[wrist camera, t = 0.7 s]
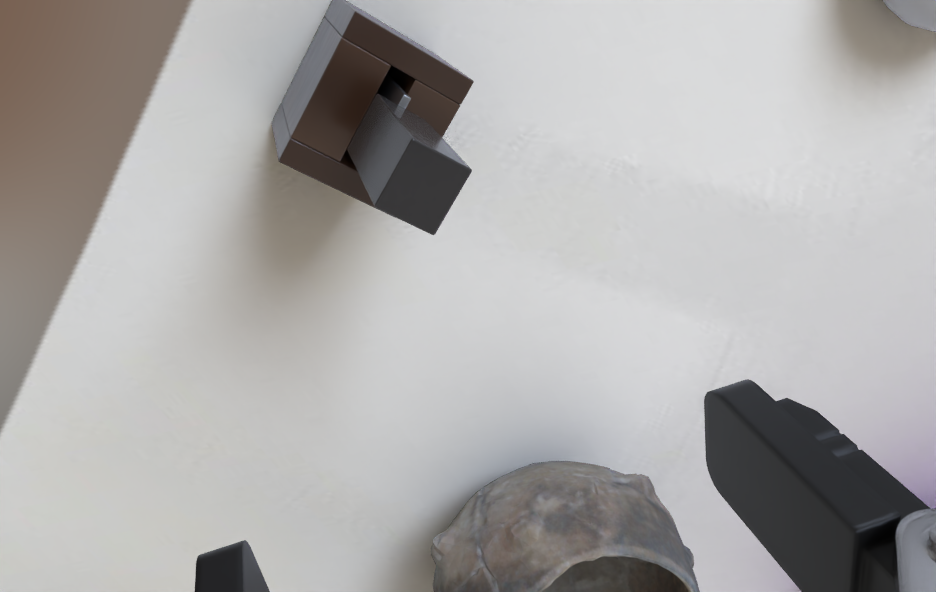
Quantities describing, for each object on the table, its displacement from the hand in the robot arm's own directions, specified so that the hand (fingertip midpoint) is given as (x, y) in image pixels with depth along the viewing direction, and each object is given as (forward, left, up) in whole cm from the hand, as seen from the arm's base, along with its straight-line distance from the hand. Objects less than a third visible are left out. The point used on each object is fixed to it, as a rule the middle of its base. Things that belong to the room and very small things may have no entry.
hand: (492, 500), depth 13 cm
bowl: (+27, -1, -25) cm, 37 cm away
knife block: (-1, +2, -25) cm, 25 cm away
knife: (-1, +2, -25) cm, 25 cm away
